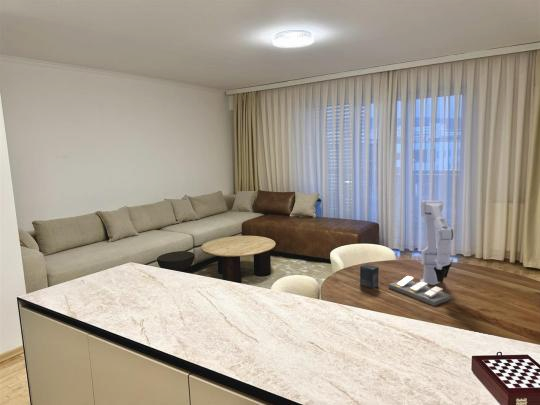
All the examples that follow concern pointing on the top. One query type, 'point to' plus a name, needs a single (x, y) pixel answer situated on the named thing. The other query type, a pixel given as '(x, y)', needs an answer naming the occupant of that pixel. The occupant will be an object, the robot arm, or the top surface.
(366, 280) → the box
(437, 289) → the rocker
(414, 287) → the rocker
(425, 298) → the switch panel
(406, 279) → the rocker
